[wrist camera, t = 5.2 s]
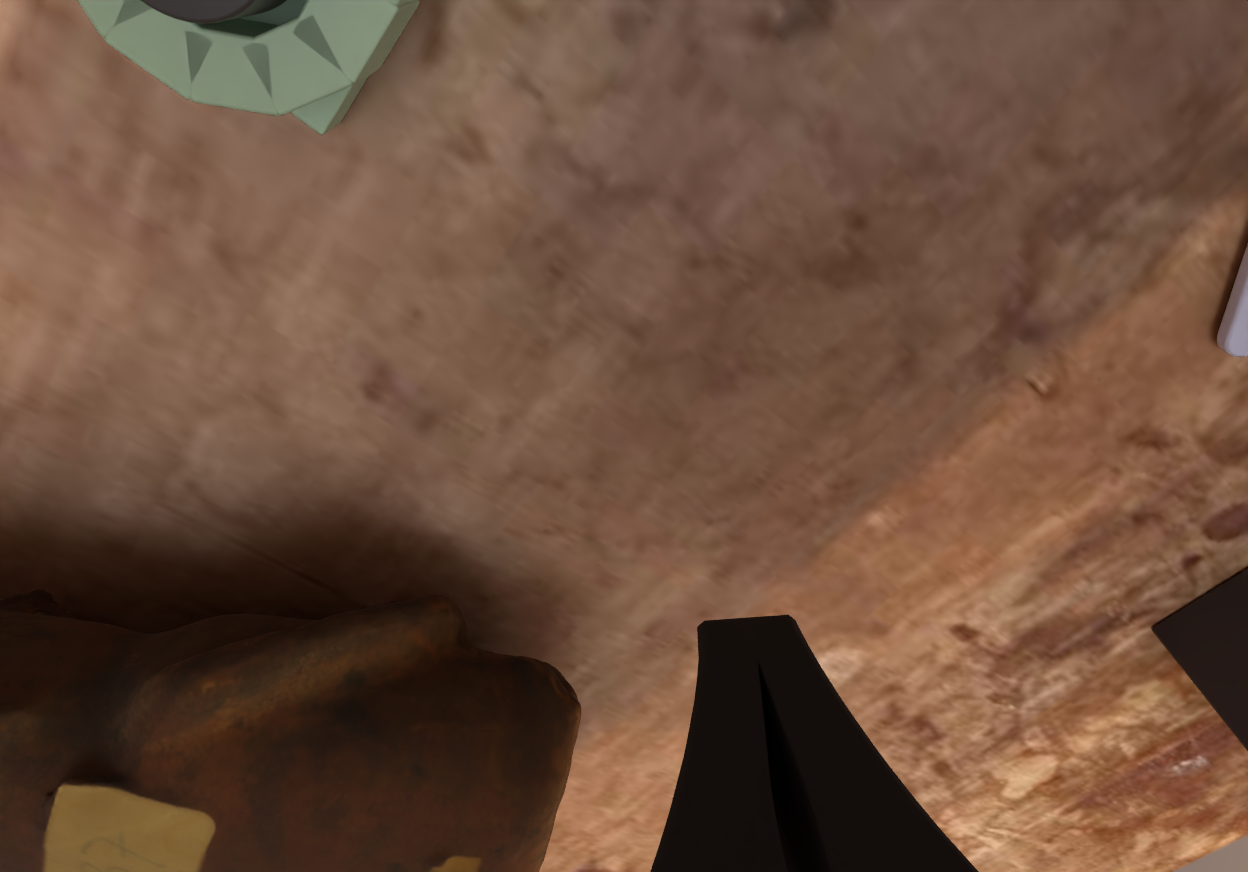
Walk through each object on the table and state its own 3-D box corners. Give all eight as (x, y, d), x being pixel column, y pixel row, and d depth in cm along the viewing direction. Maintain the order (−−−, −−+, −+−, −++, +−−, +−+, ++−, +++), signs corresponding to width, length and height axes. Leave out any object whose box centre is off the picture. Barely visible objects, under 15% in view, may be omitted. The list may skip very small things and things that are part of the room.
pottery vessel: (-224, 388, 19) (-637, 614, 13) (596, 556, 23) (594, 801, 16) (-121, 716, 26) (-362, 977, 19) (507, 809, 29) (479, 1056, 23)
